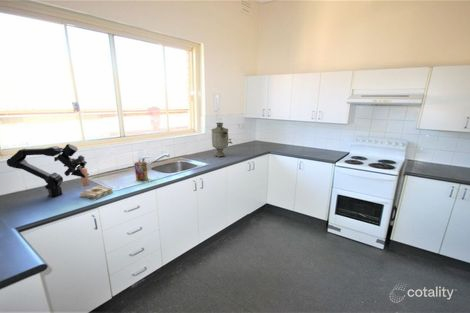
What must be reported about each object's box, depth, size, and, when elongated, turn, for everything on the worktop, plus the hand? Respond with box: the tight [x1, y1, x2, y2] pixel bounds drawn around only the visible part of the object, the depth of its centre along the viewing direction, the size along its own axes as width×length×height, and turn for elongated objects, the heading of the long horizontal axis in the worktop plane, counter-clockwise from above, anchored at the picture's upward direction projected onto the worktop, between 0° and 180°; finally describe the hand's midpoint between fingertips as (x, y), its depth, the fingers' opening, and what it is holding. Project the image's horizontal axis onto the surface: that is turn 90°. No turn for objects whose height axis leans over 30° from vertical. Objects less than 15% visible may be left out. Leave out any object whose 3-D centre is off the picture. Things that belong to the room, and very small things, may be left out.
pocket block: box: [79, 185, 114, 200], centre depth 164 cm, size 14×14×3 cm
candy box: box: [134, 160, 149, 181], centre depth 193 cm, size 9×4×15 cm, turn 104°
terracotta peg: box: [80, 167, 90, 187], centre depth 160 cm, size 4×4×12 cm
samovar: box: [211, 122, 233, 159], centre depth 274 cm, size 30×26×40 cm
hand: (86, 176), depth 160 cm, fingers closed on terracotta peg, 4 cm apart
